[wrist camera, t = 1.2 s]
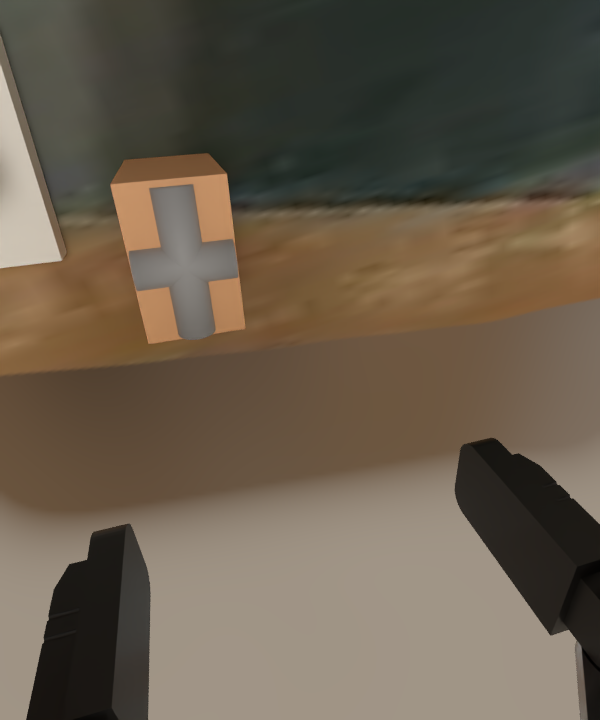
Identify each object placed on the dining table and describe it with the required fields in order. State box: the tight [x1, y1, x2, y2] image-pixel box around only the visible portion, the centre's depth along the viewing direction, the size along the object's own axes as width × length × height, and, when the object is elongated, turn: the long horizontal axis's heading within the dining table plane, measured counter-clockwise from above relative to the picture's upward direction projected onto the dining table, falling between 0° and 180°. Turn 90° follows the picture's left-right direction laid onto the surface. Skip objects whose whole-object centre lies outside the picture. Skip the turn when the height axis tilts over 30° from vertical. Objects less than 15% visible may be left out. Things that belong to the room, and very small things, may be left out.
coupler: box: [110, 153, 246, 344], centre depth 22 cm, size 6×4×9 cm, turn 2°
